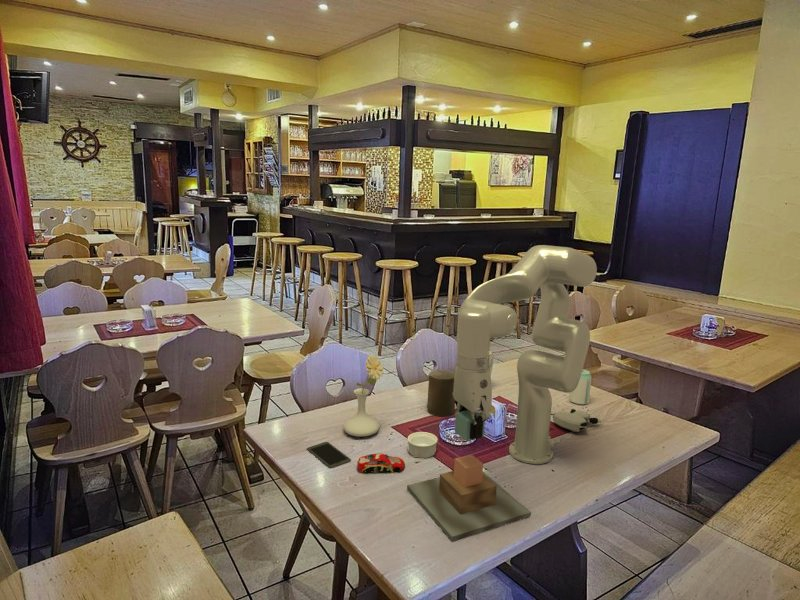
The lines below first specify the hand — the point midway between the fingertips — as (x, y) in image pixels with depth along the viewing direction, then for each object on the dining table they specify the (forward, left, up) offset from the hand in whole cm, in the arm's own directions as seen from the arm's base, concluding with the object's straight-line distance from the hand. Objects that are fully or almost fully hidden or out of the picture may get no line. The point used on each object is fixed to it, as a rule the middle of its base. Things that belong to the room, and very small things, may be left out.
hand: (469, 432), depth 123 cm
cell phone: (+24, -36, -20) cm, 47 cm away
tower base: (0, 0, -19) cm, 19 cm away
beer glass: (-48, -62, -19) cm, 81 cm away
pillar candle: (-22, -50, -19) cm, 58 cm away
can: (-74, -37, -19) cm, 85 cm away
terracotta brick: (0, 0, -13) cm, 13 cm away
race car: (+13, -23, -19) cm, 33 cm away
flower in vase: (+9, -46, -19) cm, 51 cm away
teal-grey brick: (0, 0, -1) cm, 1 cm away
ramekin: (-2, -27, -19) cm, 33 cm away
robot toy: (-58, -22, -19) cm, 65 cm away
